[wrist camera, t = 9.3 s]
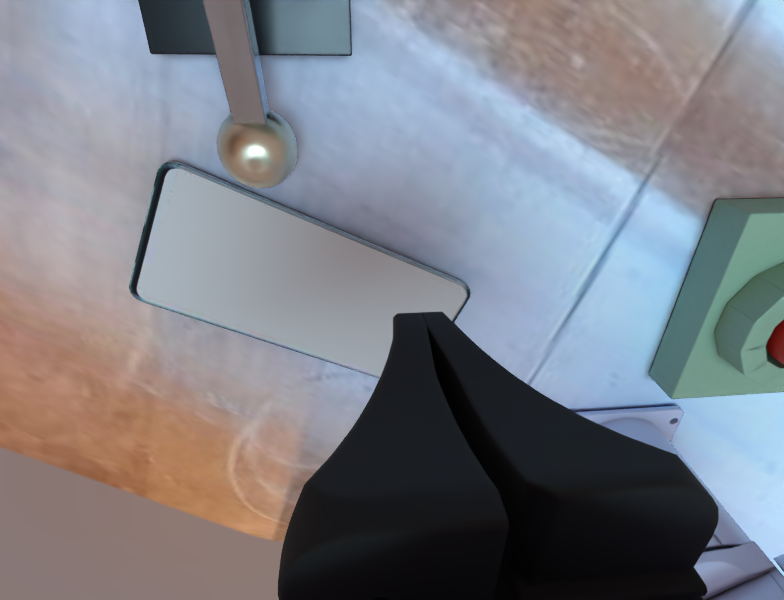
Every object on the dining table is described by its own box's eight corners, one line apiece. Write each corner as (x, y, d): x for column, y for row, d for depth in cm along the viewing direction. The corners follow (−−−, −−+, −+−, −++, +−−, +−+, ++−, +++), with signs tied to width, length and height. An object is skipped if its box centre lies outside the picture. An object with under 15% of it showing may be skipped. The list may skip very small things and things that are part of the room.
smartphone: (160, 156, 18) (475, 289, 22) (165, 153, 18) (472, 284, 22) (126, 297, 20) (411, 389, 25) (130, 291, 21) (409, 382, 25)
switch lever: (303, 158, 18) (300, 203, 16) (233, 159, 18) (222, 204, 16) (247, -274, 10) (229, -276, 8) (112, -283, 9) (63, -288, 8)
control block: (768, 367, 28) (828, 413, 24) (647, 374, 27) (692, 423, 24) (862, 195, 22) (958, 223, 19) (715, 198, 22) (786, 228, 18)
